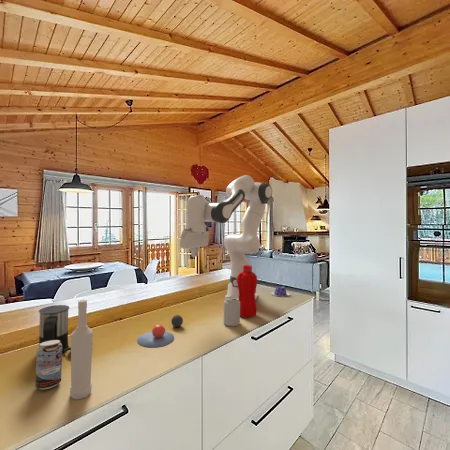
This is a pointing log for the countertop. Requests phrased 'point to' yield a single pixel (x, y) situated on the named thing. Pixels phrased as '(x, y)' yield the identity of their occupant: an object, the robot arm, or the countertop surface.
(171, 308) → the countertop surface
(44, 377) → the beverage can
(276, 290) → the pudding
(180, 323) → the dark grey ball
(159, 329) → the object ball
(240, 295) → the water bottle
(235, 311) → the can
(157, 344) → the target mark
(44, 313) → the milk frother
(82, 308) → the bottle
